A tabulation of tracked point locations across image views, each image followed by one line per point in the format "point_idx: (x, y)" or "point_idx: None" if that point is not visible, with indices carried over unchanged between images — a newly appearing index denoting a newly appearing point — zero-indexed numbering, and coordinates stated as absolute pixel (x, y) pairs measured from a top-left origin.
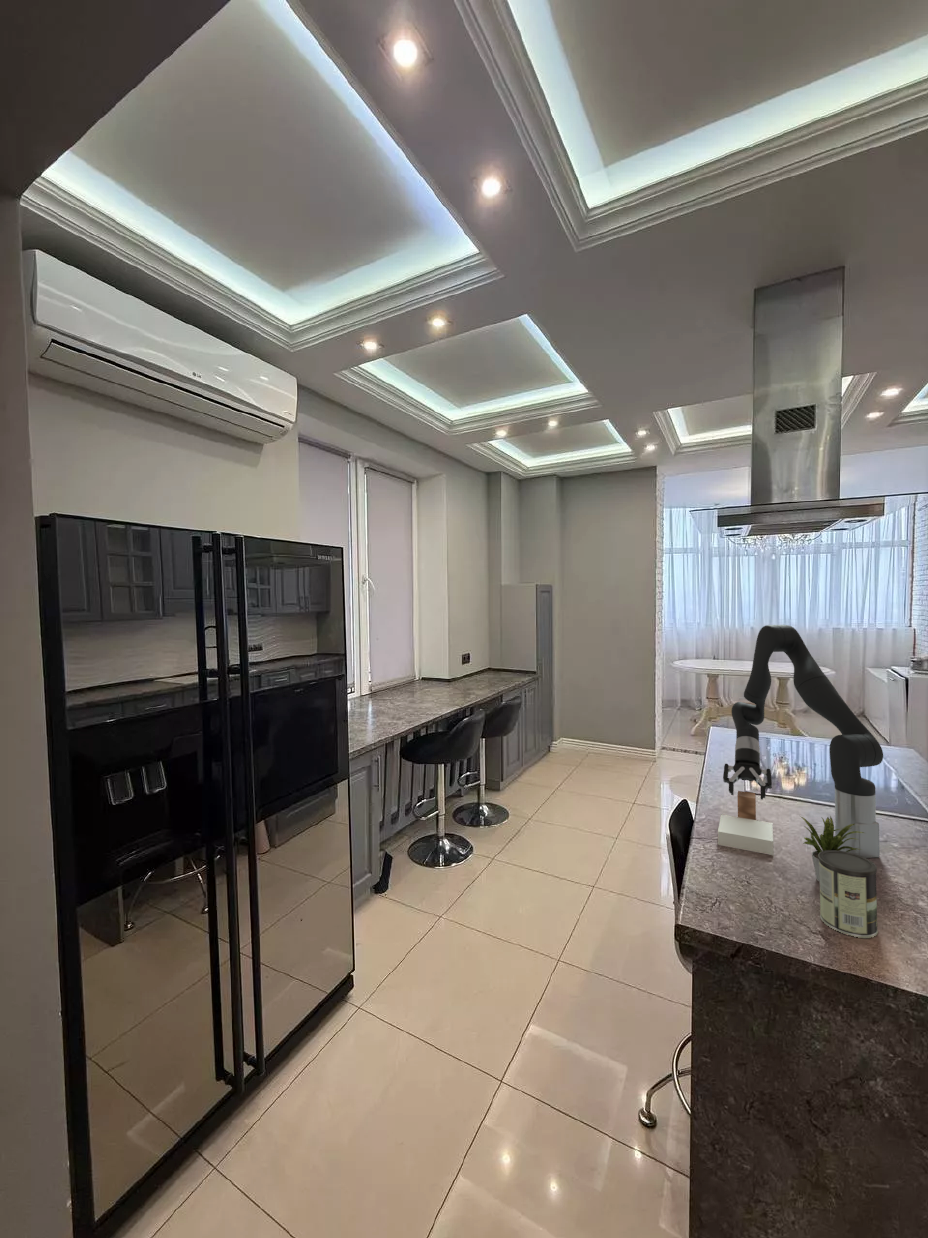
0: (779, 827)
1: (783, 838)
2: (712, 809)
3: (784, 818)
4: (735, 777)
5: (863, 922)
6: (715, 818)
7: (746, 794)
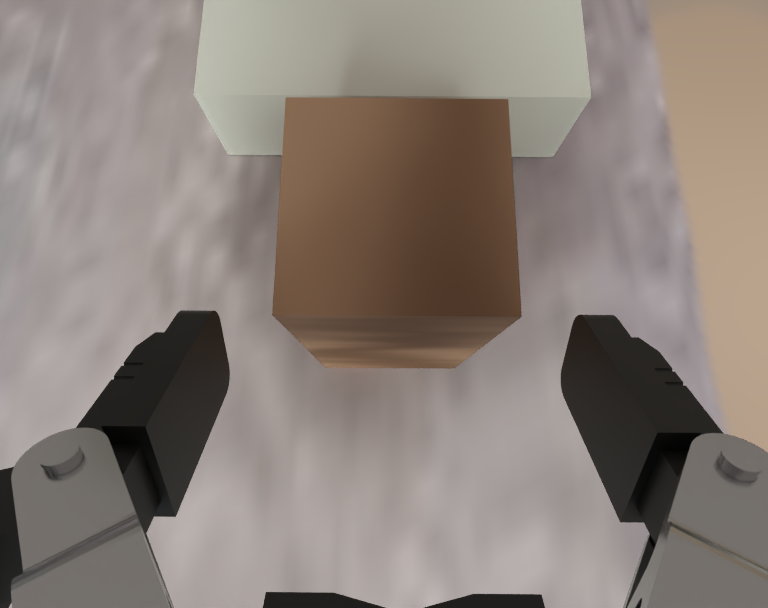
0: None
1: (164, 147)
2: None
3: None
4: (687, 537)
5: None
6: (619, 304)
7: (397, 196)
